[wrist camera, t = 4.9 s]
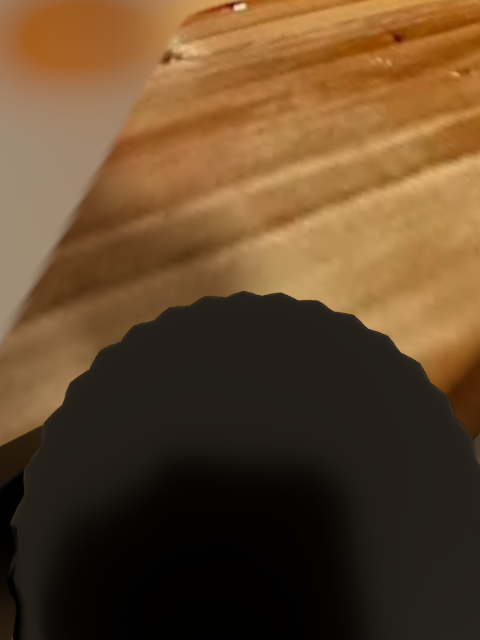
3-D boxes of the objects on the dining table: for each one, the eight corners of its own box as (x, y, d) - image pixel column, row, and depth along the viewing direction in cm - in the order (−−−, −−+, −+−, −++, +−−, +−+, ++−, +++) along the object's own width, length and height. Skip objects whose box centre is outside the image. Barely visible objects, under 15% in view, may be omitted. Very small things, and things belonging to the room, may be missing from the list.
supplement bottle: (187, 385, 16) (127, 154, 5) (340, 446, 16) (621, 320, 5) (105, 561, 13) (-361, 807, 3) (288, 647, 13) (706, 1503, 2)
